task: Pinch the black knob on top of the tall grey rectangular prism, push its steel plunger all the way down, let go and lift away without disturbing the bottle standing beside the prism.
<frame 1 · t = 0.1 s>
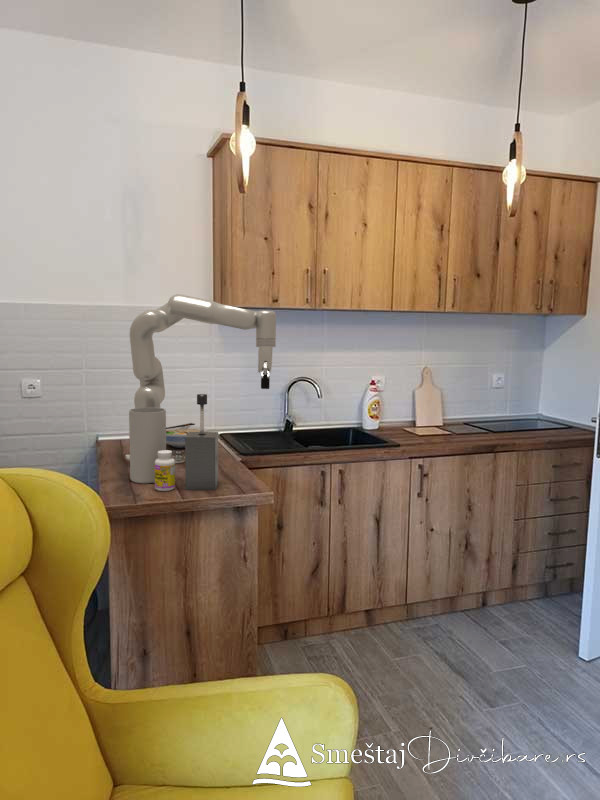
hand: (265, 387, 232), 31 cm above the worktop, tool pointing down, fingers open, 9 cm apart
plunger: (202, 425, 204), point 21 cm above the worktop, slide at 9.0 cm
ramen bowl: (181, 446, 270), on the worktop
tall grey rectangular prism: (202, 485, 206), on the worktop
supplement bottle: (165, 489, 202), on the worktop
cylinder vase: (148, 479, 213), on the worktop
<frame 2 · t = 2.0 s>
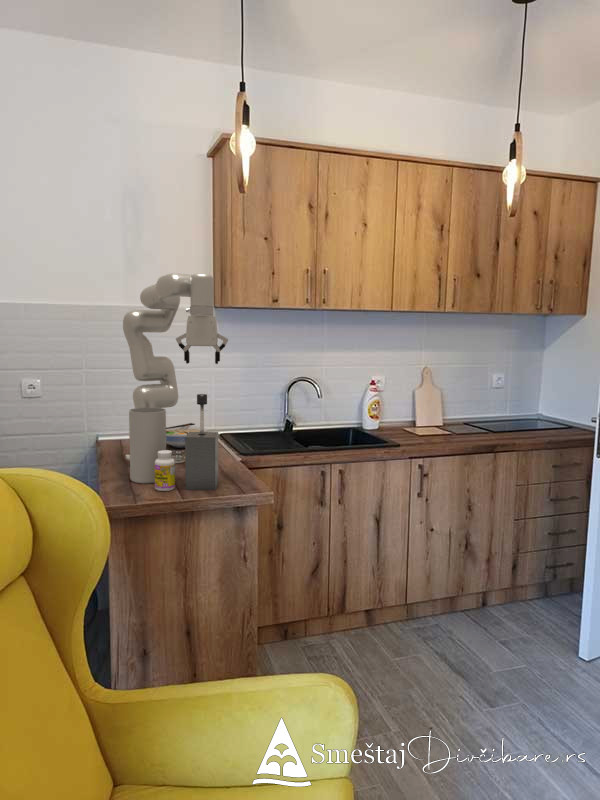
hand: (202, 363, 201), 42 cm above the worktop, tool pointing down, fingers open, 9 cm apart
nothing on the worktop moved.
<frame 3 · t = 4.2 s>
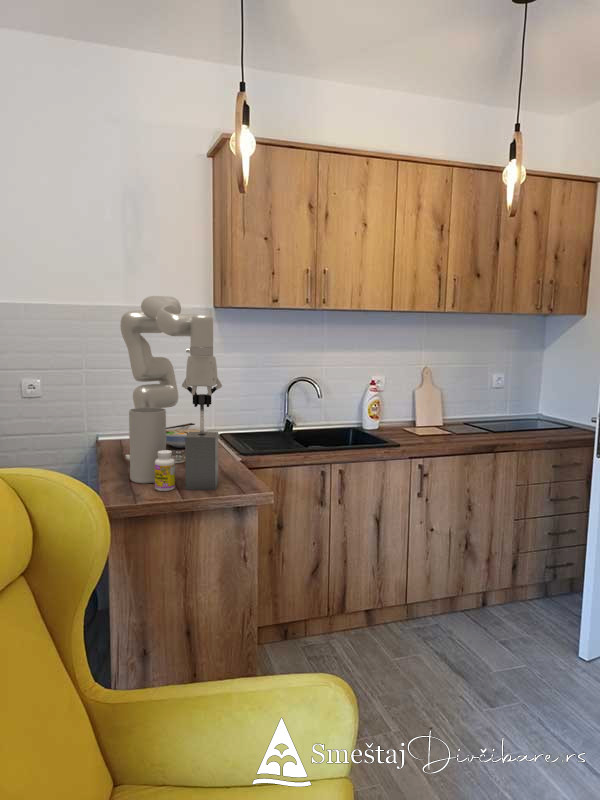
hand: (202, 405, 203), 28 cm above the worktop, tool pointing down, fingers closed on plunger, 3 cm apart
plunger: (202, 425, 204), point 21 cm above the worktop, slide at 9.0 cm, touching gripper
everything else where it was.
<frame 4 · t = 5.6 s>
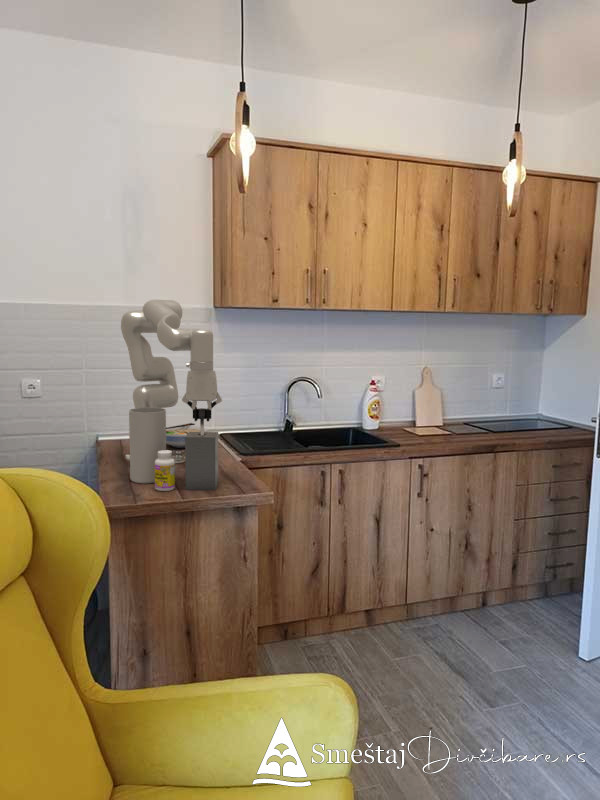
hand: (202, 420, 203), 23 cm above the worktop, tool pointing down, fingers closed on plunger, 3 cm apart
plunger: (202, 439, 204), point 16 cm above the worktop, slide at 4.1 cm, touching gripper
everything else where it was.
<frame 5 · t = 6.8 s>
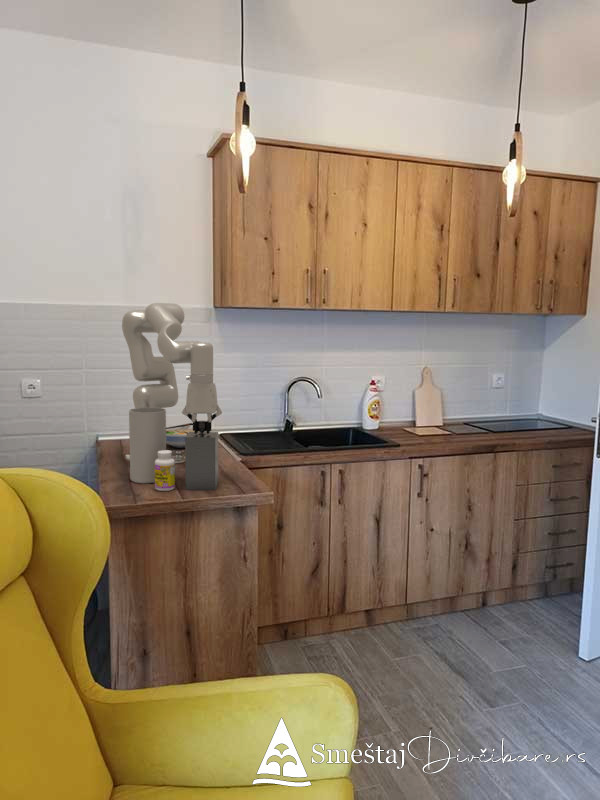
hand: (202, 432, 204), 19 cm above the worktop, tool pointing down, fingers closed on plunger, 3 cm apart
plunger: (202, 452, 205), point 12 cm above the worktop, slide at -0.2 cm, touching gripper
everything else where it was.
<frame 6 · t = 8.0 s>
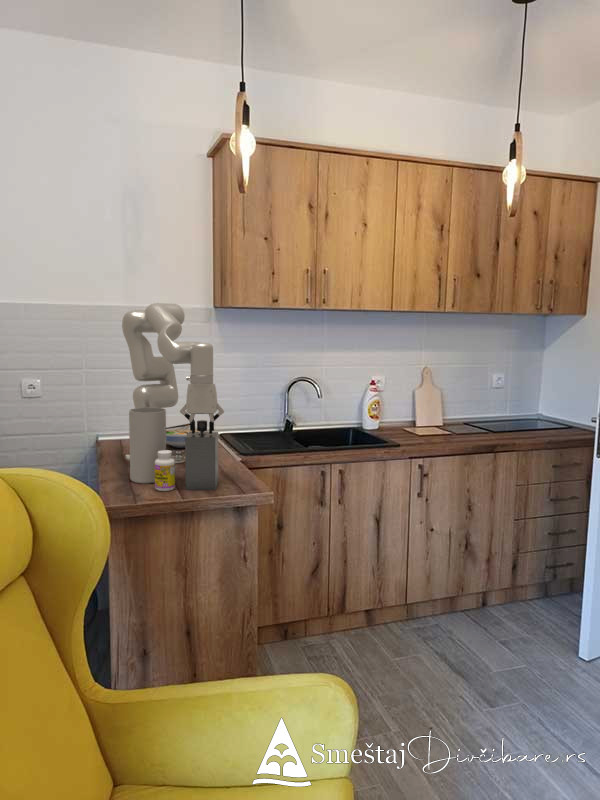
hand: (202, 432, 204), 19 cm above the worktop, tool pointing down, fingers open, 5 cm apart
plunger: (202, 451, 205), point 12 cm above the worktop, slide at -0.1 cm
everything else where it was.
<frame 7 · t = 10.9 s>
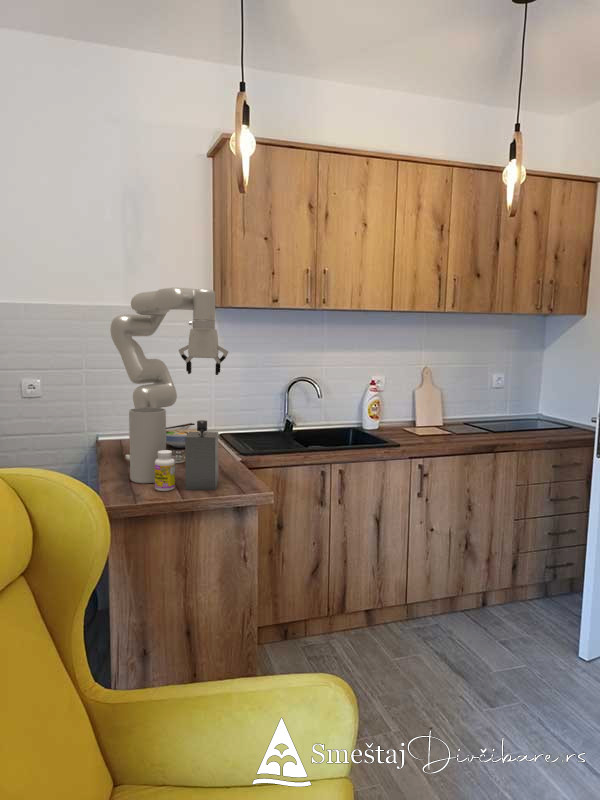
hand: (203, 374, 211), 38 cm above the worktop, tool pointing down, fingers open, 9 cm apart
nothing on the worktop moved.
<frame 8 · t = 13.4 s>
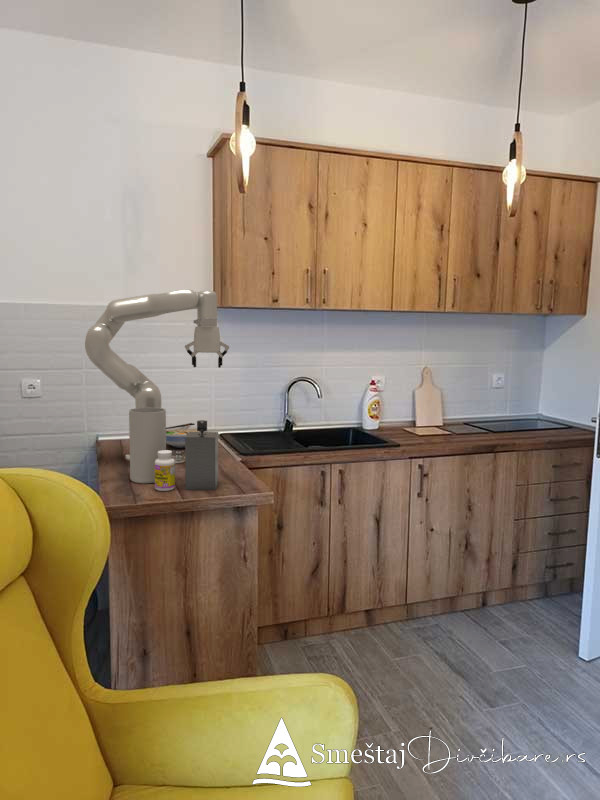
hand: (207, 367, 235), 38 cm above the worktop, tool pointing down, fingers open, 9 cm apart
nothing on the worktop moved.
at the end: plunger slide at -0.1 cm; the gripper is holding nothing; supplement bottle tilted 0° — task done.
